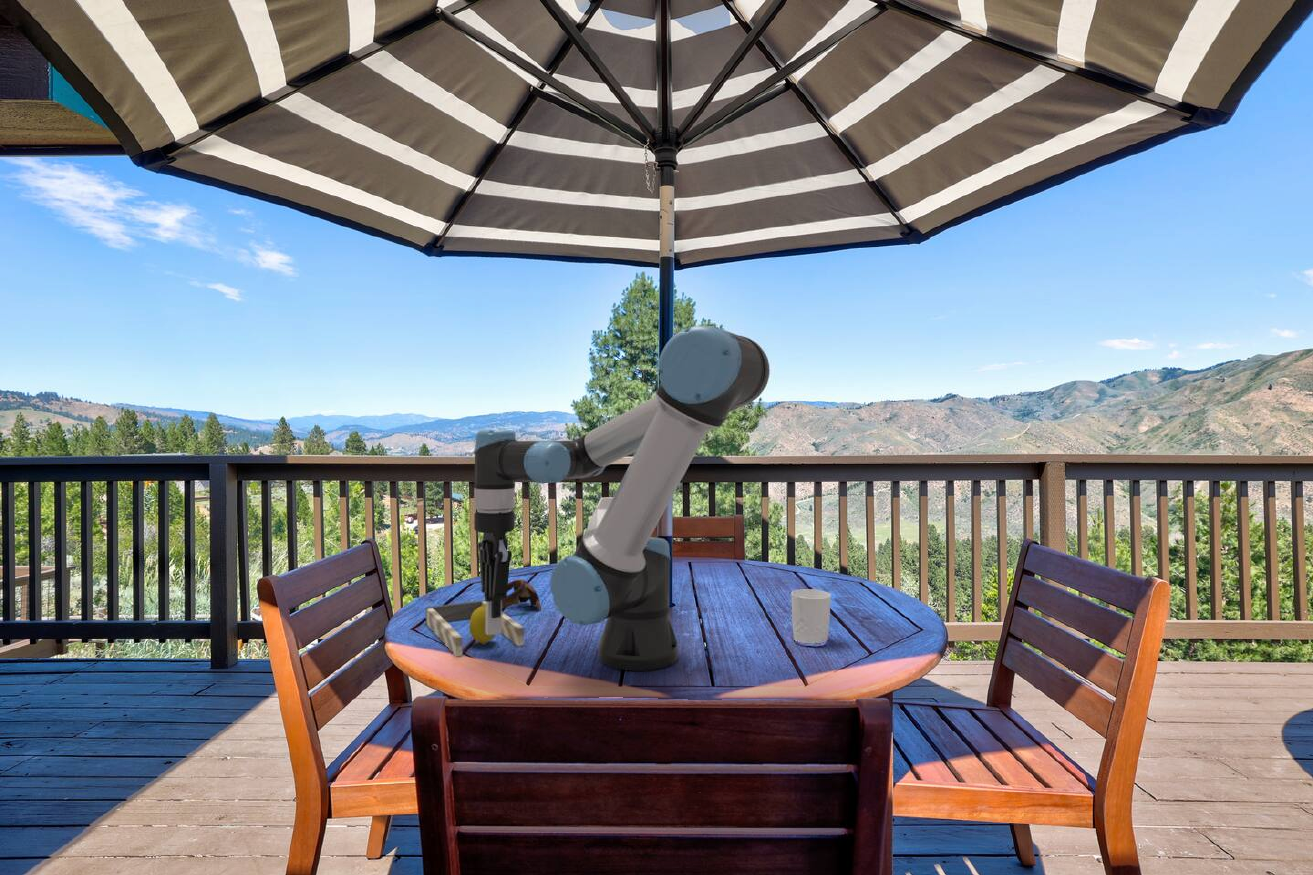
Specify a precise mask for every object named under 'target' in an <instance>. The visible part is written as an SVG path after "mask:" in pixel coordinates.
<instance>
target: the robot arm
mask: <svg viewBox="0 0 1313 875" xmlns="http://www.w3.org/2000/svg"><path fill="white" fill-rule="evenodd" d="M765 352H766V351H764V349H763V348H762V347H761V346H760V345H759V344H758V343H757V342H756V341H754V340H753V339H751V338H749V337H746V336H743V335H739V334H736V333H733V332H730V331H728V330H726V329H725V330H724V329H723V328H720V327H719V326H713V325H711V326H709V325H708V326H707V325H694V326H689V327H687V328H685V329H682V330H680V331H678V332H677V333H676V334H674V335H672V337H671V338H670V339H669V340H668V341H667V342H666V344H665V346H664V347H663V349H662V351H661V352H660V356H659V360H658V366H657V367H658V368H657V369H658V370H657V371H659V381H660V383H659V385H658V387H657V389H656V390H655V391H656V392H655V396H653V397H651V398H650V399H648V400H645V401H644V402H642V403H640V404H639V405H636V406H635V407H632V408H631V409H629V410H627V411H626V412H624V413H622V414H620V415H618V416H616V417H614V418H613V419H611V420H608V421H607V422H605V423H603V424H601V425H599V426H597V427H596V428H594V429H592V430H590V431H588V432H587V433H585V434H583V435H581V436H579V437H578V438H576V439H573V440H517V437H516V436H517V435H516V432H515V430H510V429H509V430H507V429H481V430H479V431H477V433H476V434H475V435H476V436H475V443H474V444H475V446H474V451H473V452H474V491H473V492H474V496H473V498H474V500H473V501H474V502H473V508H474V509H475V510H477V511H475V513H474V514H473V515H474V517H473V518H474V519H473V520H474V521H473V526H474V528H473V529H474V531H475V532H478V533H481V534H482V540H481V542H478V543H477V544H478V545H477V547H478V552H479V563H480V566H479V568H480V582H481V583H480V584H481V593H482V594H484V600H485V601H486V619H485V633H486V634H487V635H493V634H496V635H498V634H502V612H503V608H502V600H503V599H506V597H507V595H508V592H507V587H508V583H509V575H510V563H511V560H512V555H513V553H512V551H511V550H508V541H507V536H506V533H509V532H512V531H514V530H515V526H516V525H515V524H516V522H515V521H516V520H515V518H516V512H515V511H513V510H512V509H514V508H515V507H516V506H515V505H516V504H515V503H516V501H515V498H516V497H517V496H518V493H517V492H516V490H515V489H516V481H517V482H518V481H520V482H521V481H522V482H530V483H531V482H532V483H538V484H542V485H543V484H554V483H555V484H557V483H560V482H562V481H564V480H573V479H574V480H575V479H588V478H592V477H596V476H599V475H600V474H602V473H603V472H604V470H605V468H606V467H607V466H610V465H611V464H613V463H615V462H617V461H619V460H621V459H624V458H625V457H627V456H629V455H632V454H634V453H635V454H634V455H633V458H632V460H631V461H630V463H629V465H628V467H627V470H626V471H625V473H624V475H623V478H622V479H621V481H620V483H619V484H618V487H617V489H616V491H615V493H614V495H613V496H612V497H613V498H612V500H611V502H610V504H609V506H608V508H607V510H606V512H605V514H604V516H603V518H602V520H601V522H600V524H599V526H598V528H595V529H591V530H588V531H587V530H586V531H585V532H584V534H583V535H582V537H581V539H580V542H578V545H577V547H576V549H575V551H574V553H573V554H572V555H567V556H564V557H563V558H562V559H561V560H559V561H558V562H556V564H555V565H554V567H553V569H552V571H551V574H550V580H549V583H550V584H549V587H550V592H551V594H552V597H553V599H552V600H553V602H554V605H555V607H556V608H557V611H559V612H560V614H562V616H563V617H564V618H566V619H567V621H570V622H571V623H574V624H575V625H579V626H589V625H593V624H599V623H602V622H603V621H605V620H606V622H605V625H604V627H603V631H602V634H601V636H600V641H599V644H598V647H597V648H598V649H597V650H598V652H597V653H598V655H597V657H598V660H599V662H601V663H602V664H604V665H606V666H607V667H610V668H614V669H618V670H624V671H634V672H635V671H636V672H638V671H653V670H658V669H663V668H666V667H669V666H671V665H673V664H674V663H676V662H677V660H678V659H679V645H678V641H677V638H676V635H675V631H674V628H673V626H672V623H671V622H672V621H671V618H670V587H671V586H670V582H671V580H670V578H671V577H670V576H671V575H670V573H671V572H670V571H671V570H670V569H671V560H672V559H671V556H670V543H669V542H668V541H667V540H666V539H665V538H661V537H656V536H654V537H653V536H652V534H653V532H654V531H655V529H656V527H657V525H658V523H659V522H660V519H661V517H662V516H663V514H664V513H665V510H666V509H667V506H668V505H669V503H670V501H671V499H672V498H673V496H674V494H675V492H676V490H677V488H678V487H679V484H680V483H681V481H682V480H683V478H684V476H685V474H686V472H687V470H688V468H689V466H690V464H691V462H692V460H693V459H694V457H695V456H696V453H697V451H698V450H699V448H700V445H701V444H702V442H703V440H704V438H705V437H706V435H707V433H708V432H711V431H714V430H717V429H721V427H722V425H723V423H724V422H725V420H726V418H727V416H728V415H729V413H730V412H732V411H734V410H735V411H736V410H737V409H740V408H742V407H744V406H746V405H749V404H750V403H752V402H754V401H755V400H757V399H758V398H759V397H760V396H761V394H763V392H764V391H765V389H766V387H767V384H768V382H769V378H770V363H769V358H768V356H767V355H766V353H765Z"/></svg>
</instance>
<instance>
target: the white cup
mask: <svg viewBox="0 0 1313 875" xmlns="http://www.w3.org/2000/svg"><path fill="white" fill-rule="evenodd" d="M790 597H791V598H790V599H791V621H792V629H793V631H792V633H793V638H794V640H795V641H798V642H802V643H812V644H814V643H822V642H825V641H827V640H829V639H828V638H829V628H830V617H831V599H832V598H831V597H832V596H831V593H829V592H827V591H824V590H819V589H808V588H805V589H804V588H803V589H796V590H792V591H791V593H790ZM793 638H792V639H793ZM794 640H793V641H794Z"/></svg>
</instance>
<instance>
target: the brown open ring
mask: <svg viewBox="0 0 1313 875" xmlns="http://www.w3.org/2000/svg"><path fill="white" fill-rule="evenodd" d="M512 589H513V592H511V593H509V594H507V597H506V599H503V600H502V609H506V608H507V607H511V606H513V605H517V606H520V603H527V602H528V601H529V603H530V607H535V606H536V607H537V612H540V611H541V609H542V606H541V603H540V602H541V601H540V598H539V594H538V593H537V591H536V590H535V588H534V587H533V586H532V585H530V584H529V583H528V582H527V581H526V580H524V579H519V578H518V579H515V580H512V581H510V582H508V587H507V593H508V592H509V591H510V590H512Z"/></svg>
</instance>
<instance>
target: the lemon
mask: <svg viewBox="0 0 1313 875" xmlns="http://www.w3.org/2000/svg"><path fill="white" fill-rule="evenodd" d="M485 619H486V605H482V606H481V607H479V608H477V609H476V610H475V611H474V612H473V613H472V616H471V619H470V620H469V633H470V635H471V637H472V639H473V640H475V641H477V642H479V643H480V644H481V645H486V644H487V643H488V642H490V641H491V640H492V639H494V638H495V636H496V635H497V634H493V635H487V634H486V633H485Z"/></svg>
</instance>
